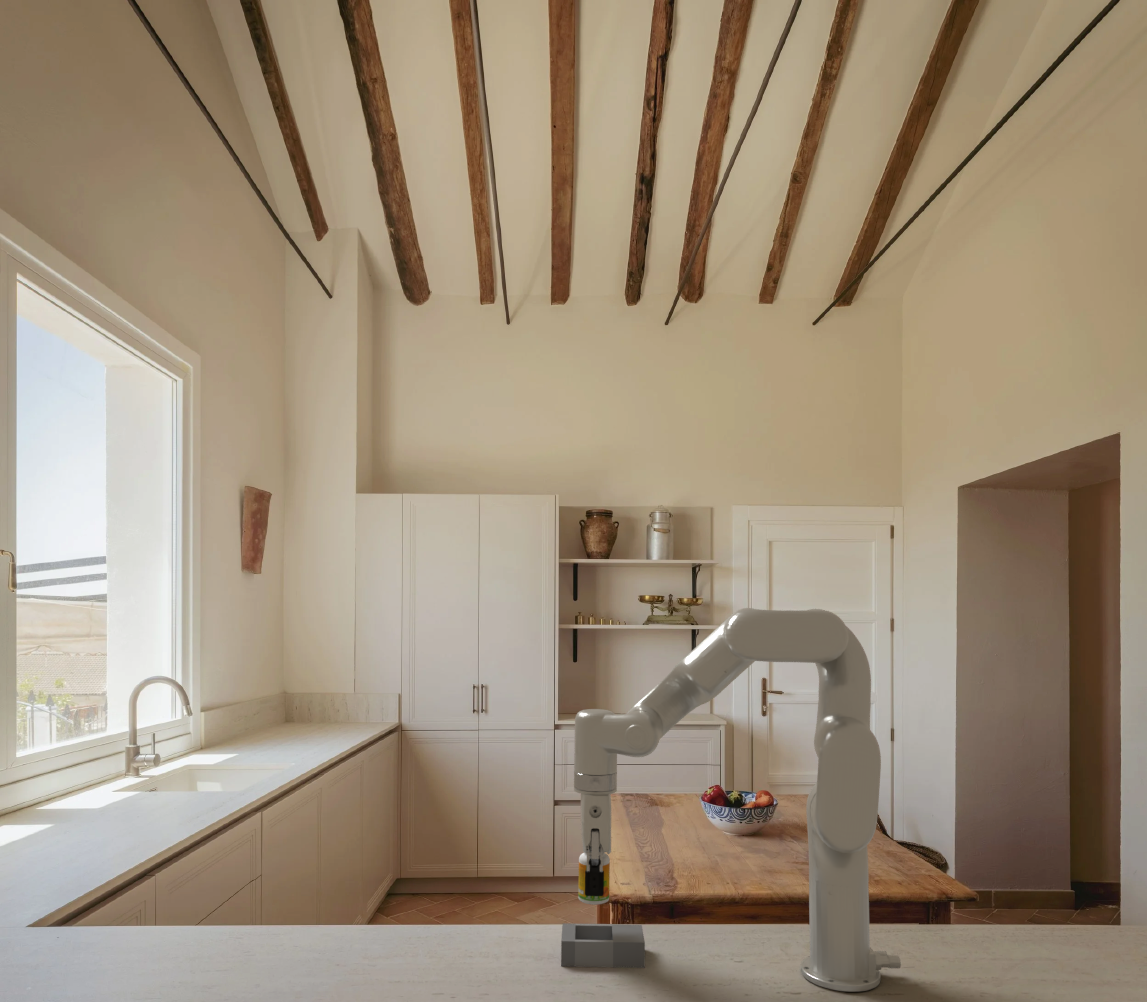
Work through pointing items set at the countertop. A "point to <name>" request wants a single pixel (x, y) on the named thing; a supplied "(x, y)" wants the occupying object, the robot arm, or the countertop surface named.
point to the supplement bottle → (581, 884)
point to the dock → (602, 945)
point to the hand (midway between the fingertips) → (594, 888)
